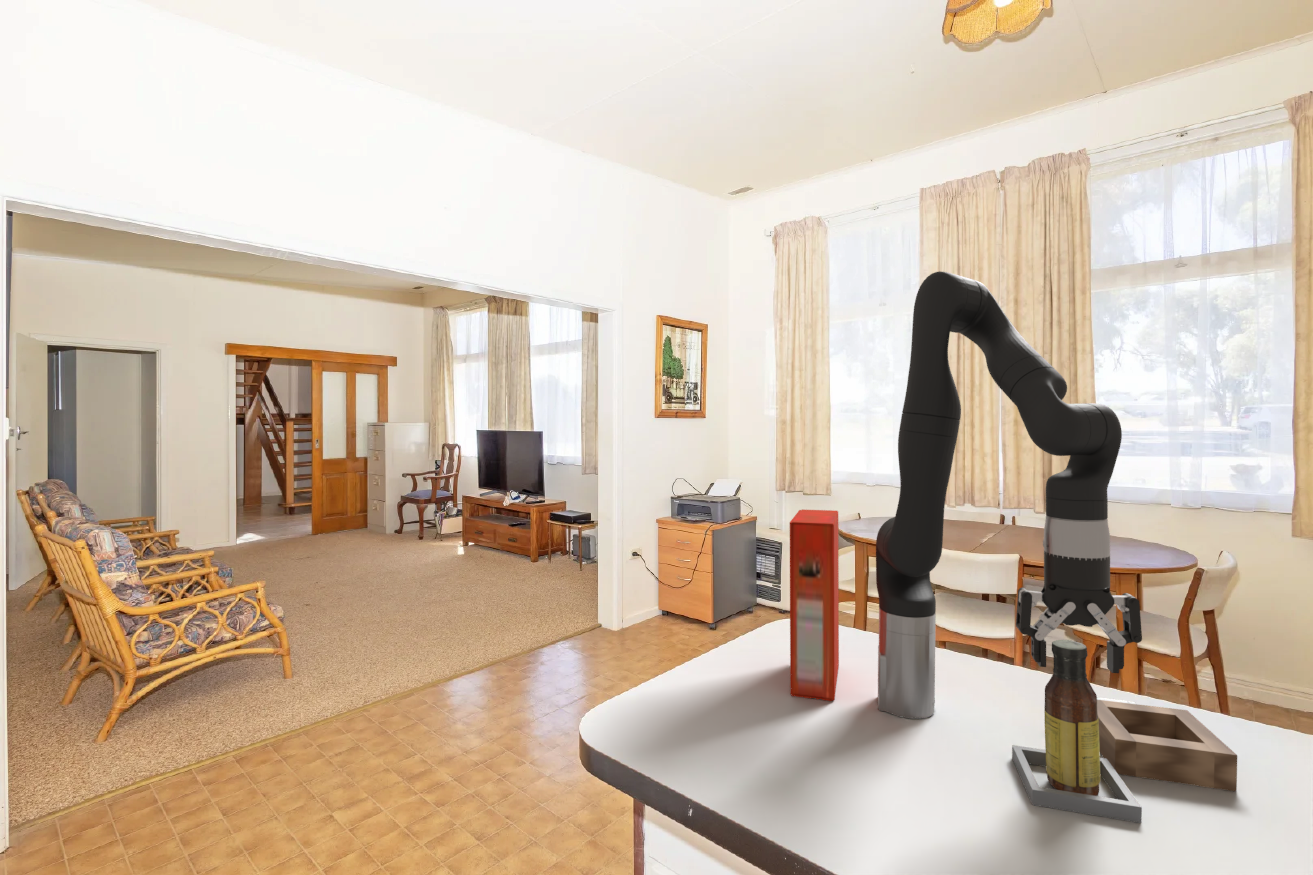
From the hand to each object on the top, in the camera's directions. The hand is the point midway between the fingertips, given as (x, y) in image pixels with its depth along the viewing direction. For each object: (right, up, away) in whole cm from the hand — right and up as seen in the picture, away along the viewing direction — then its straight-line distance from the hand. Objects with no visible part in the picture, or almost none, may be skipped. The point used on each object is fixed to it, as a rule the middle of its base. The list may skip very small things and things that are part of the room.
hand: (1076, 667), depth 86 cm
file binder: (-27, -16, +36) cm, 48 cm away
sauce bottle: (-1, -17, 0) cm, 17 cm away
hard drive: (+19, -17, +23) cm, 34 cm away
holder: (+17, -16, +8) cm, 25 cm away
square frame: (-1, -17, 0) cm, 16 cm away
